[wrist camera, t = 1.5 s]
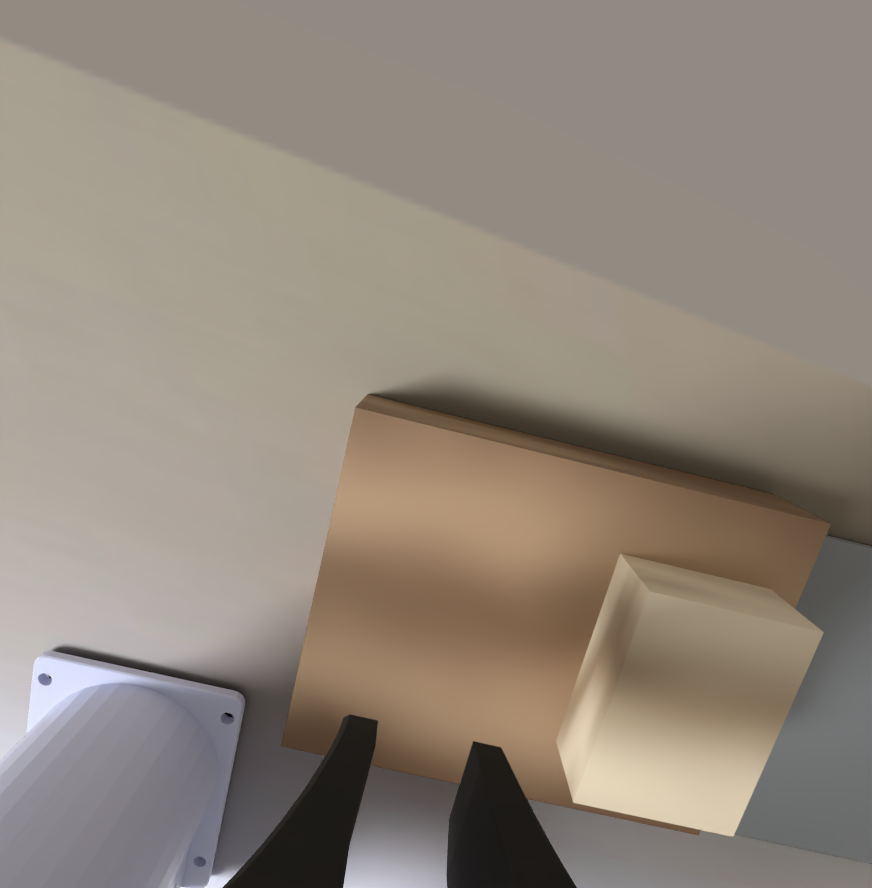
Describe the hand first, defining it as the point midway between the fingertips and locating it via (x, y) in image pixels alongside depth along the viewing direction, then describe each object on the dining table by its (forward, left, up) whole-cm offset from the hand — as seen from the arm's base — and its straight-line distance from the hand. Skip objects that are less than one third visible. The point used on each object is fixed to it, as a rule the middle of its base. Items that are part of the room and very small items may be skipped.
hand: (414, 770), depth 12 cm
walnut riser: (0, -4, -9) cm, 10 cm away
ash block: (0, -8, -6) cm, 10 cm away
